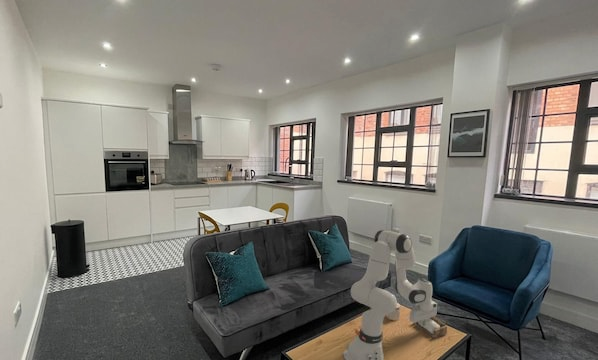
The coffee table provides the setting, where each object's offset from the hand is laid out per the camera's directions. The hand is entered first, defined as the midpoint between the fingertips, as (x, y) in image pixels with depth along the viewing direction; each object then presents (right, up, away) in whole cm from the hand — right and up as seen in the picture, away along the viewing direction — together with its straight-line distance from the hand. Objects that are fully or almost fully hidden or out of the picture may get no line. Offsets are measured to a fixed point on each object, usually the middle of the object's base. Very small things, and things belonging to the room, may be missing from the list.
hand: (422, 325), depth 178 cm
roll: (+5, -1, +3) cm, 6 cm away
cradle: (+6, -4, +3) cm, 8 cm away
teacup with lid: (-14, -3, +17) cm, 22 cm away
